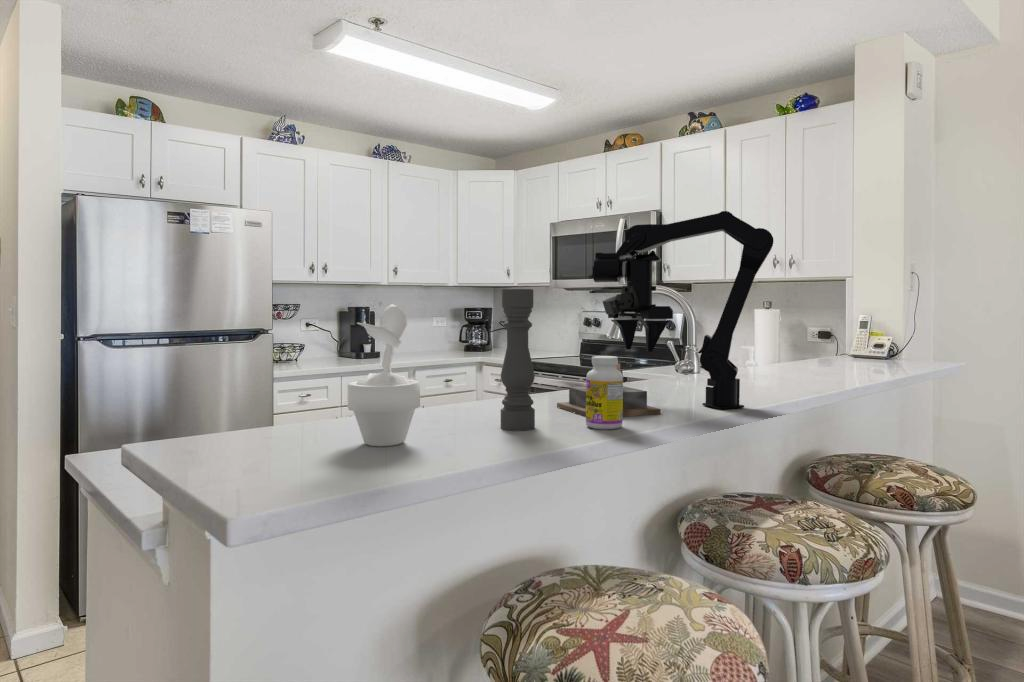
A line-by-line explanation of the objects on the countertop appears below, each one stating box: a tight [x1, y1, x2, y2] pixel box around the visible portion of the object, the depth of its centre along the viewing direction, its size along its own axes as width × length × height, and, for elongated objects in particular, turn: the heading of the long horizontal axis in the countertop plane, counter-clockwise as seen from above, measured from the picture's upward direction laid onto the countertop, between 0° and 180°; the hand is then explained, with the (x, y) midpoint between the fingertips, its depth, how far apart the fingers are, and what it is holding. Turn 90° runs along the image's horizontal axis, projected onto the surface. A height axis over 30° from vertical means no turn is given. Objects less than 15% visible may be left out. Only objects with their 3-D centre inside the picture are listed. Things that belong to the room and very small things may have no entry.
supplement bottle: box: [585, 355, 624, 431], centre depth 119 cm, size 7×7×13 cm
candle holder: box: [500, 288, 536, 432], centre depth 119 cm, size 6×6×25 cm
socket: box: [556, 385, 662, 418], centre depth 139 cm, size 16×16×4 cm
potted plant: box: [346, 289, 421, 448], centre depth 104 cm, size 13×12×25 cm
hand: (638, 350), depth 149 cm, fingers open, 9 cm apart
